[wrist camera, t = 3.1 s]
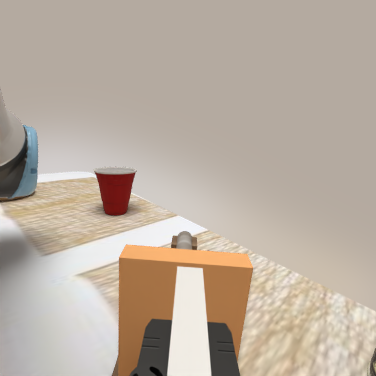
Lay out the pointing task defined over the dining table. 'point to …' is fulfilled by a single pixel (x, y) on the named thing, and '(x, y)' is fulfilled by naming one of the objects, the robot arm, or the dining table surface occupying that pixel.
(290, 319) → the dining table surface
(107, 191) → the plastic cup
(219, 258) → the upright orange slab
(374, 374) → the coffee can
